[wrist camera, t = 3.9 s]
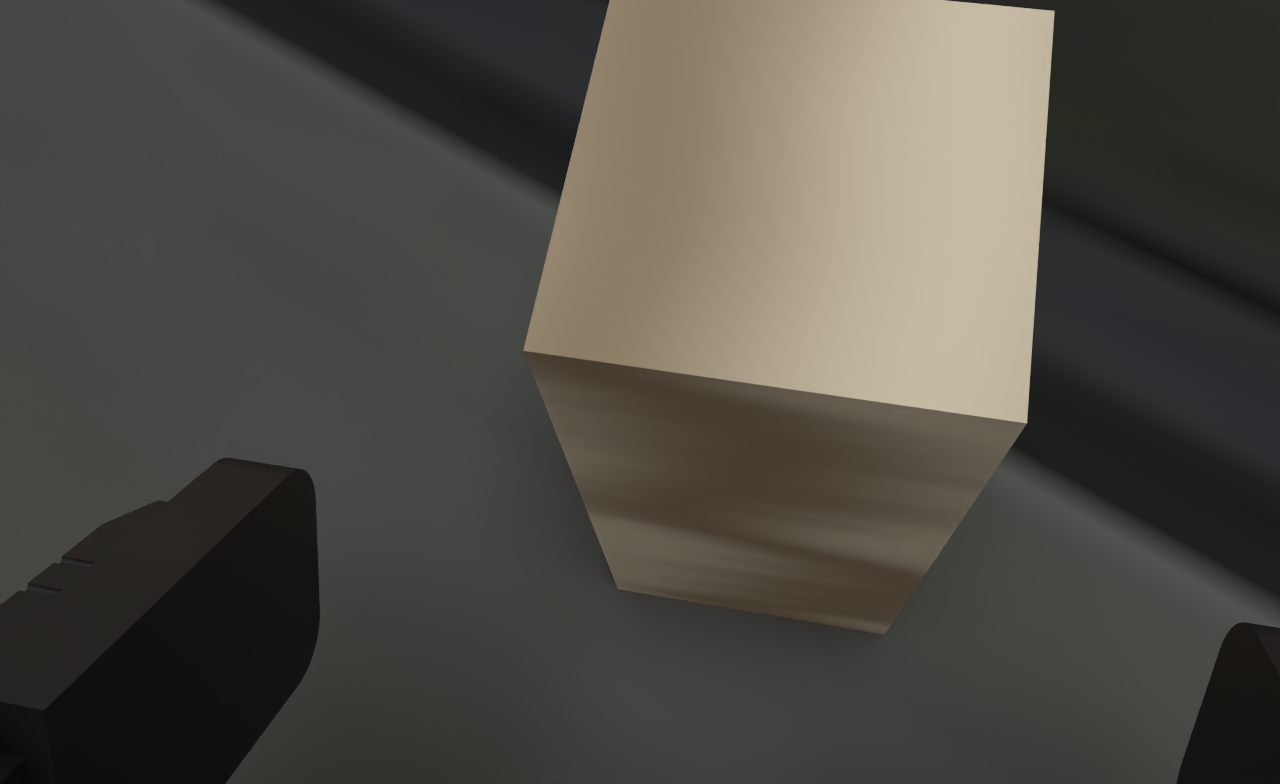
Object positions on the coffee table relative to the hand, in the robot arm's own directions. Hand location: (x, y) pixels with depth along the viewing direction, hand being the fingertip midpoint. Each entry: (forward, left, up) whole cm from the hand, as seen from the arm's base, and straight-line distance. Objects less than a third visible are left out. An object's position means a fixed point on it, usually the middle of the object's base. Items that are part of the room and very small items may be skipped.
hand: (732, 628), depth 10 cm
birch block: (0, -4, -9) cm, 10 cm away
